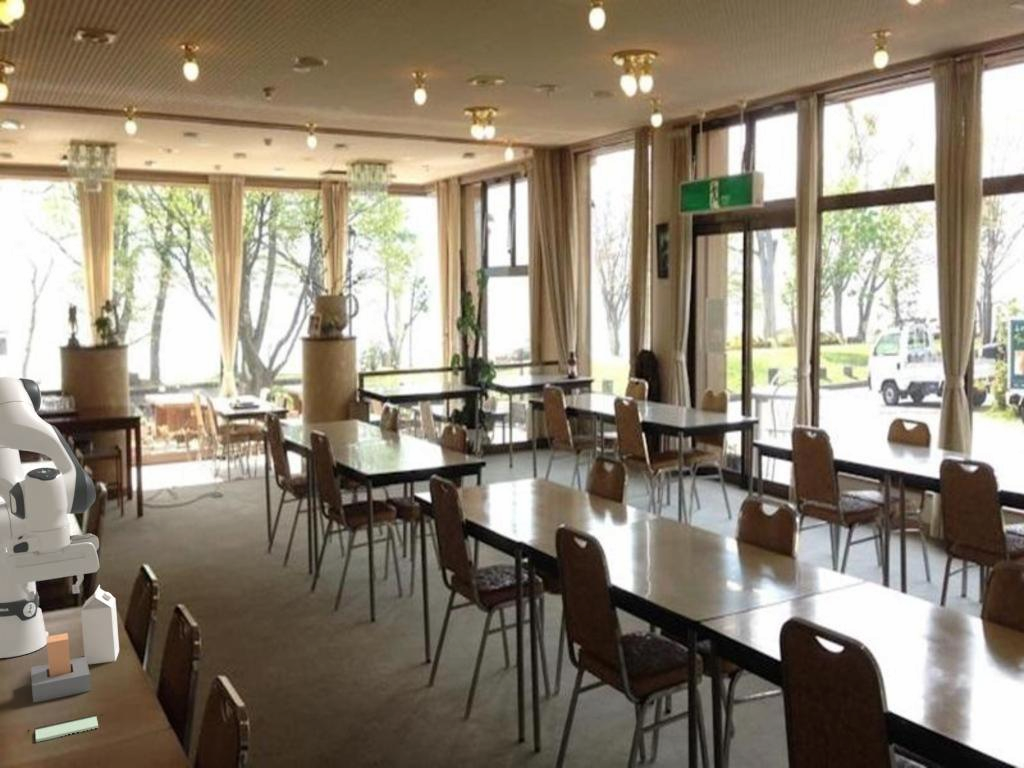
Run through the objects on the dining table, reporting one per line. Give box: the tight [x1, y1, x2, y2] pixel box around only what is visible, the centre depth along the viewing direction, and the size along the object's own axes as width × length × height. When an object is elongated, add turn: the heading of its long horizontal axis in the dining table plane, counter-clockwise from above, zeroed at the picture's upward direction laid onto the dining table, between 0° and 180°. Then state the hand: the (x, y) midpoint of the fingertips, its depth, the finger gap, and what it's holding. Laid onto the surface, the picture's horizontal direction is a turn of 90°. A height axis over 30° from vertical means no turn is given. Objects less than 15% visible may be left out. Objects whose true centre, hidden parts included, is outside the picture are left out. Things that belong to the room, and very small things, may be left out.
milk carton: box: [80, 584, 120, 665], centre depth 234 cm, size 7×7×19 cm
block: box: [46, 632, 71, 677], centre depth 217 cm, size 4×4×12 cm
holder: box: [30, 656, 92, 704], centre depth 218 cm, size 12×12×5 cm
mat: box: [34, 714, 99, 743], centre depth 203 cm, size 16×12×1 cm
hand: (53, 596), depth 216 cm, fingers open, 8 cm apart
